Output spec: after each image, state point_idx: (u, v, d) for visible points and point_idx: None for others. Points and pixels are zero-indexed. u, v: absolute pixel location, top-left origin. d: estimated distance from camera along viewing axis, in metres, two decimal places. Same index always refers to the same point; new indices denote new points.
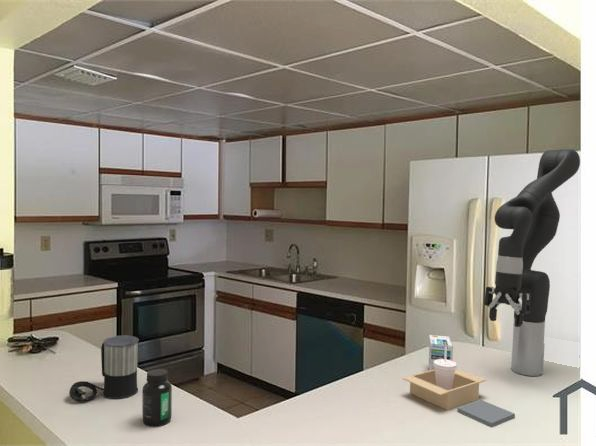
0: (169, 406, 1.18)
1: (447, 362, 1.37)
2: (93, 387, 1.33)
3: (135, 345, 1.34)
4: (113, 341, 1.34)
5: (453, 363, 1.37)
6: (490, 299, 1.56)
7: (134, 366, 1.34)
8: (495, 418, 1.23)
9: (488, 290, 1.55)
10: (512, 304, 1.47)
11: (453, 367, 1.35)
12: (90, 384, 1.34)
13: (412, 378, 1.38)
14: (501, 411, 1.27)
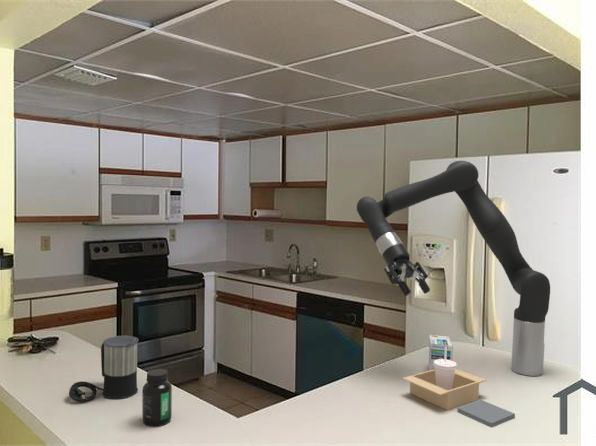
0: (169, 406, 1.18)
1: (447, 362, 1.37)
2: (93, 387, 1.33)
3: (135, 345, 1.33)
4: (113, 341, 1.33)
5: (453, 363, 1.37)
6: None
7: (134, 366, 1.34)
8: (495, 418, 1.23)
9: None
10: None
11: (453, 367, 1.35)
12: (90, 384, 1.34)
13: (412, 378, 1.38)
14: (501, 411, 1.27)
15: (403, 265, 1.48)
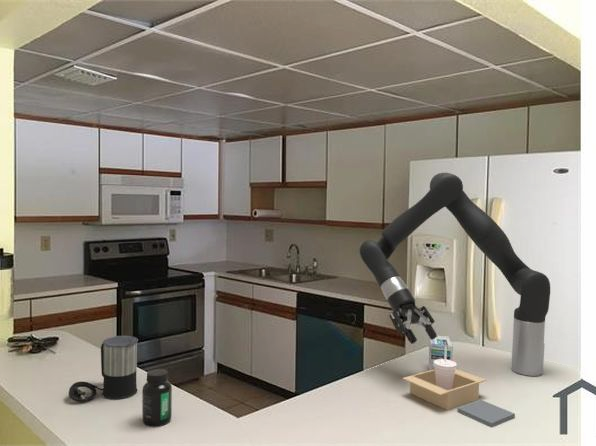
0: (169, 406, 1.18)
1: (447, 362, 1.37)
2: (92, 387, 1.33)
3: (134, 345, 1.33)
4: (112, 341, 1.33)
5: (453, 363, 1.37)
6: None
7: (134, 367, 1.33)
8: (495, 418, 1.23)
9: None
10: None
11: (453, 367, 1.35)
12: (89, 384, 1.34)
13: (412, 378, 1.38)
14: (501, 411, 1.27)
15: (409, 312, 1.46)
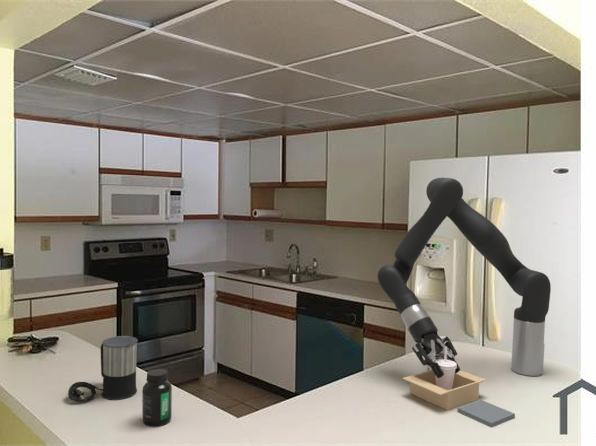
0: (169, 406, 1.18)
1: (447, 362, 1.37)
2: (92, 388, 1.33)
3: (134, 346, 1.33)
4: (112, 341, 1.33)
5: (453, 363, 1.37)
6: None
7: (133, 367, 1.33)
8: (495, 418, 1.23)
9: None
10: None
11: (453, 367, 1.35)
12: (89, 384, 1.34)
13: (412, 378, 1.38)
14: (501, 411, 1.27)
15: (432, 342, 1.39)
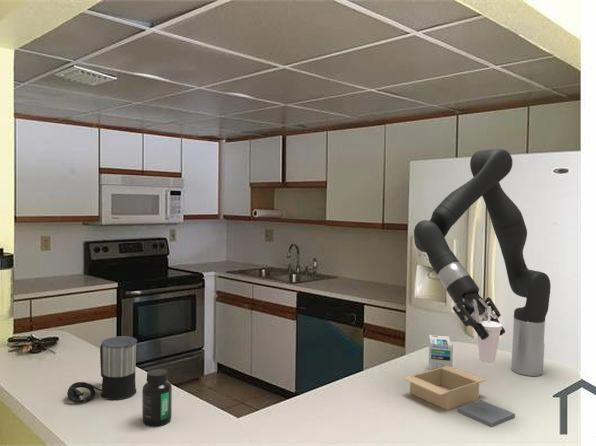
0: (169, 406, 1.18)
1: (491, 323, 1.26)
2: (91, 388, 1.33)
3: (133, 346, 1.33)
4: (111, 341, 1.33)
5: (498, 324, 1.26)
6: None
7: (133, 367, 1.33)
8: (495, 418, 1.23)
9: None
10: None
11: (498, 328, 1.23)
12: (88, 385, 1.33)
13: (412, 378, 1.38)
14: (501, 411, 1.27)
15: (474, 302, 1.27)
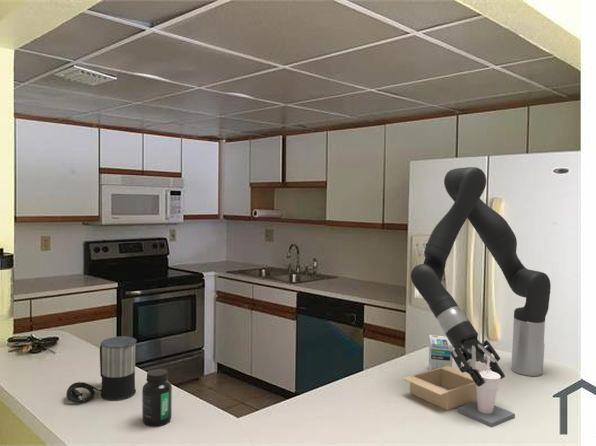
0: (169, 406, 1.18)
1: (490, 374, 1.26)
2: (91, 388, 1.33)
3: (132, 346, 1.32)
4: (110, 342, 1.33)
5: (496, 375, 1.26)
6: None
7: (132, 368, 1.33)
8: (495, 418, 1.23)
9: None
10: None
11: (497, 379, 1.24)
12: (88, 385, 1.33)
13: (412, 378, 1.38)
14: (501, 411, 1.27)
15: (473, 348, 1.28)
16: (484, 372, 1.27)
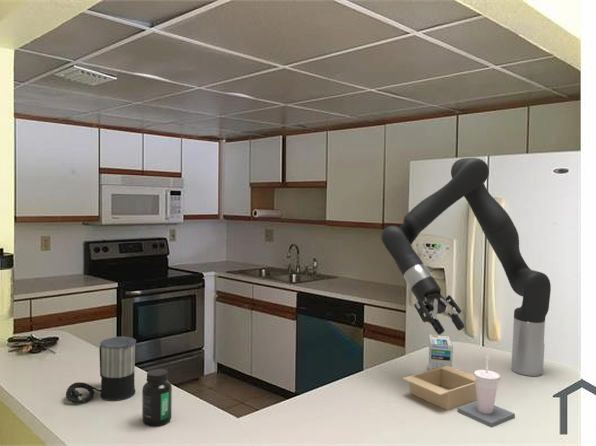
0: (169, 406, 1.18)
1: (489, 373, 1.26)
2: (90, 388, 1.32)
3: (132, 347, 1.32)
4: (110, 342, 1.32)
5: (496, 374, 1.26)
6: None
7: (131, 368, 1.32)
8: (495, 418, 1.23)
9: None
10: None
11: (496, 379, 1.24)
12: (87, 385, 1.33)
13: (412, 378, 1.38)
14: (501, 411, 1.27)
15: (435, 301, 1.38)
16: (483, 372, 1.27)
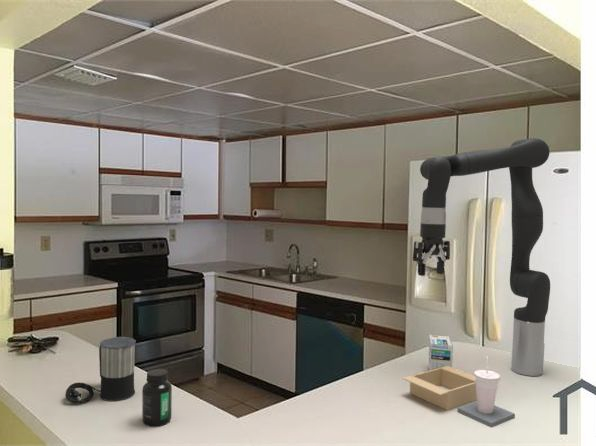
0: (169, 406, 1.18)
1: (489, 373, 1.26)
2: (90, 389, 1.32)
3: (132, 347, 1.32)
4: (110, 342, 1.32)
5: (496, 375, 1.26)
6: None
7: (131, 368, 1.32)
8: (495, 418, 1.23)
9: None
10: None
11: (496, 379, 1.24)
12: (87, 385, 1.33)
13: (412, 378, 1.38)
14: (501, 411, 1.27)
15: (433, 247, 1.48)
16: (483, 372, 1.27)
